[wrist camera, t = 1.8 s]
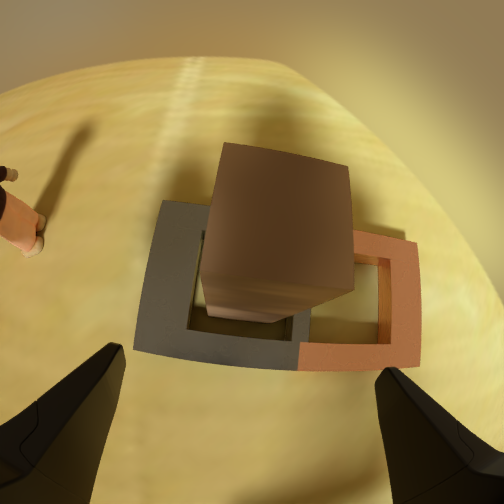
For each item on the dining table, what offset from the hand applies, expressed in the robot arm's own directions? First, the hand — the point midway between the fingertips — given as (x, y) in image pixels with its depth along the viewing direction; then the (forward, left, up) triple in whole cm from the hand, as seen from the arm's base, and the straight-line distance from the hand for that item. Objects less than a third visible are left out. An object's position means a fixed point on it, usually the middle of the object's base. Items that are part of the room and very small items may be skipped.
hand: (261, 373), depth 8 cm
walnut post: (+4, -2, -11) cm, 13 cm away
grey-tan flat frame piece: (+2, -6, -11) cm, 13 cm away
